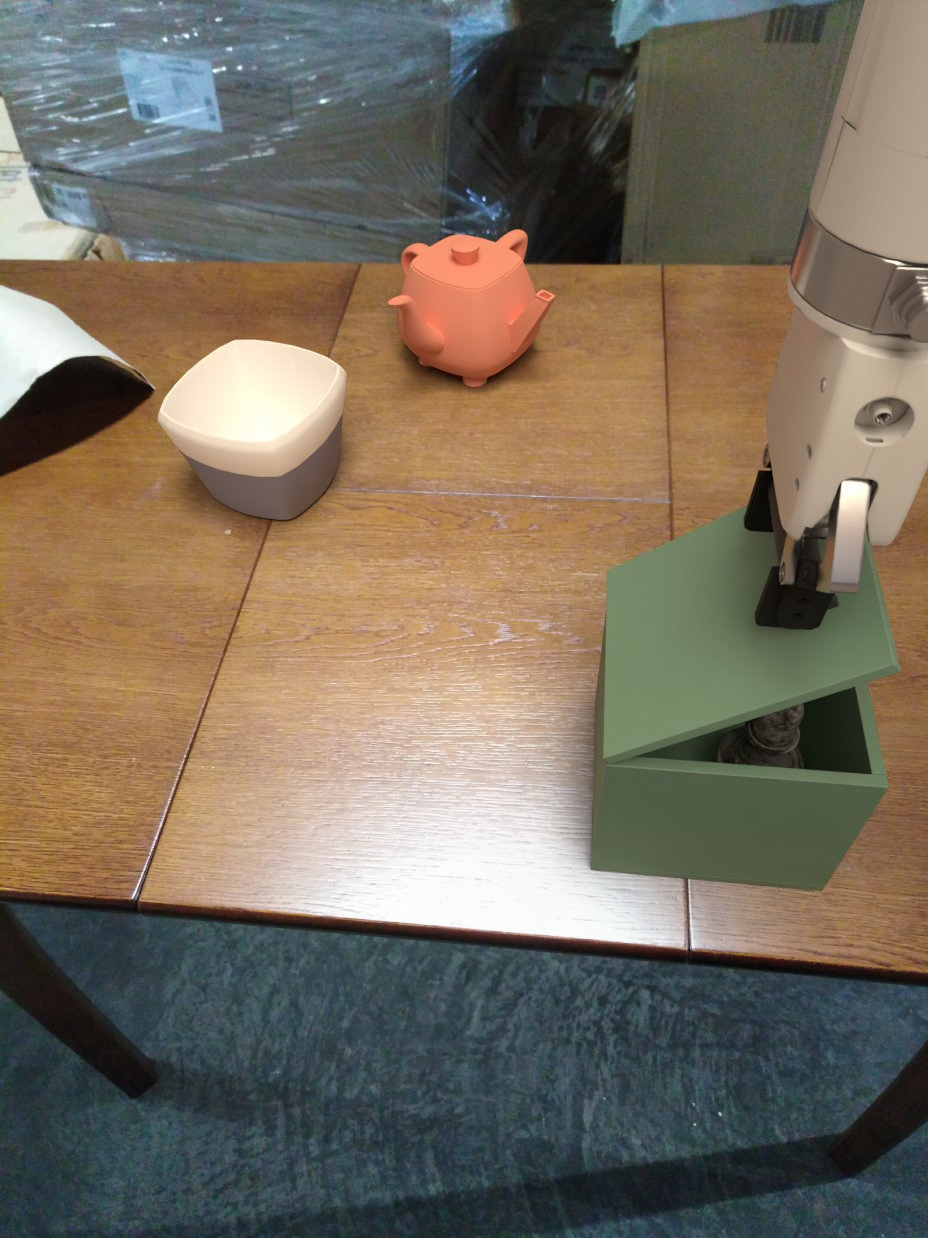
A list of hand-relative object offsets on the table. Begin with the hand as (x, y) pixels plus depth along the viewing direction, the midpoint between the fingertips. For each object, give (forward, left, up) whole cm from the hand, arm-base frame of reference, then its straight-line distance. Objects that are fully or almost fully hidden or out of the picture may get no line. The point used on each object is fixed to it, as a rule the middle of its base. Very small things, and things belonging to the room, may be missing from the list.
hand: (778, 571), depth 48 cm
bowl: (+26, -44, -24) cm, 57 cm away
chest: (+1, 0, -23) cm, 23 cm away
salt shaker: (-3, +1, -23) cm, 23 cm away
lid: (+2, -1, -4) cm, 4 cm away
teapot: (+2, -57, -24) cm, 62 cm away
